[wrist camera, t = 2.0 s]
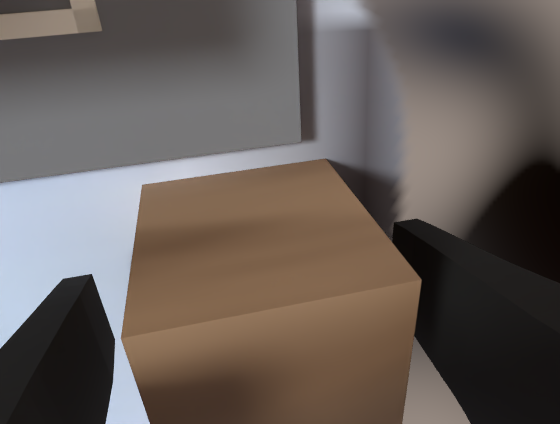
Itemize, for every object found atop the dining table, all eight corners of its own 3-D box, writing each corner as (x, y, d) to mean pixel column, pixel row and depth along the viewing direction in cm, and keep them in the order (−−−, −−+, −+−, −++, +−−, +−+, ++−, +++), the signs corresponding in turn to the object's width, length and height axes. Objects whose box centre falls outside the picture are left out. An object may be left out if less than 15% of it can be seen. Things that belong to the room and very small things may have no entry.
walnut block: (325, 294, 13) (398, 449, 9) (176, 322, 13) (178, 506, 8) (325, 157, 11) (421, 280, 7) (142, 183, 10) (121, 338, 6)
